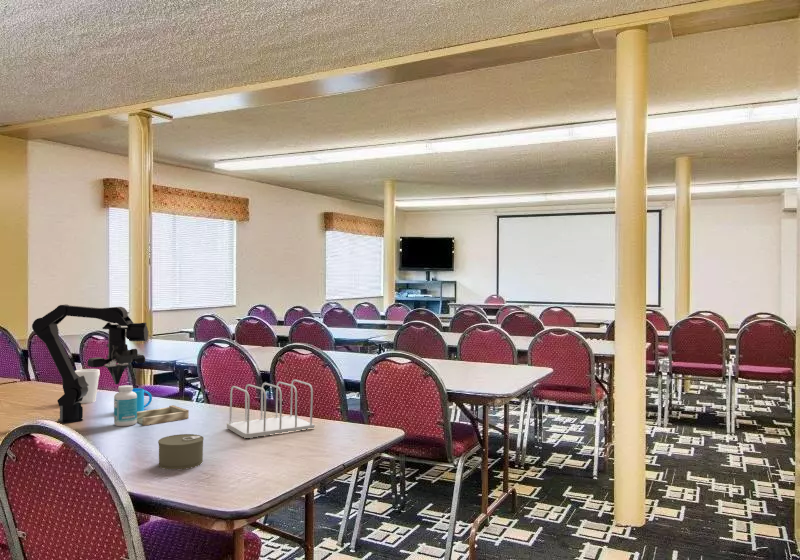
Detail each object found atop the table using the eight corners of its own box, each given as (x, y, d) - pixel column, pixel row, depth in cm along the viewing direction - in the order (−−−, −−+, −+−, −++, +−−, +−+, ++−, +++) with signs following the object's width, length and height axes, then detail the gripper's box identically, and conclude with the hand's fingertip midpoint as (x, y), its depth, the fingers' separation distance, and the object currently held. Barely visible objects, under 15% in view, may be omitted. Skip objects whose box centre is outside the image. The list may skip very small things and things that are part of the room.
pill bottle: (141, 422, 225) (141, 385, 224) (127, 427, 217) (127, 388, 217) (123, 421, 227) (124, 383, 227) (109, 426, 219) (109, 387, 219)
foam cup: (69, 402, 259) (69, 371, 259) (86, 398, 268) (86, 368, 268) (87, 404, 256) (88, 372, 256) (104, 400, 265) (104, 369, 265)
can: (150, 463, 176) (151, 439, 176) (191, 455, 184) (191, 431, 184) (169, 473, 167) (169, 447, 167) (211, 464, 176) (211, 439, 176)
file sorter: (245, 440, 202) (246, 391, 202) (226, 429, 216) (226, 384, 216) (315, 429, 217) (315, 384, 217) (292, 420, 231) (292, 377, 231)
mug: (127, 414, 239) (127, 392, 239) (117, 411, 244) (117, 390, 244) (157, 409, 248) (157, 388, 248) (146, 406, 253) (146, 386, 253)
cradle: (144, 425, 220) (144, 416, 220) (129, 419, 229) (129, 411, 229) (188, 418, 232) (188, 410, 232) (173, 413, 241) (173, 405, 241)
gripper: (99, 345, 216) (99, 390, 216) (152, 341, 230) (152, 383, 230) (87, 342, 224) (86, 386, 224) (138, 339, 238) (138, 380, 238)
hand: (116, 384), depth 229 cm, fingers closed
